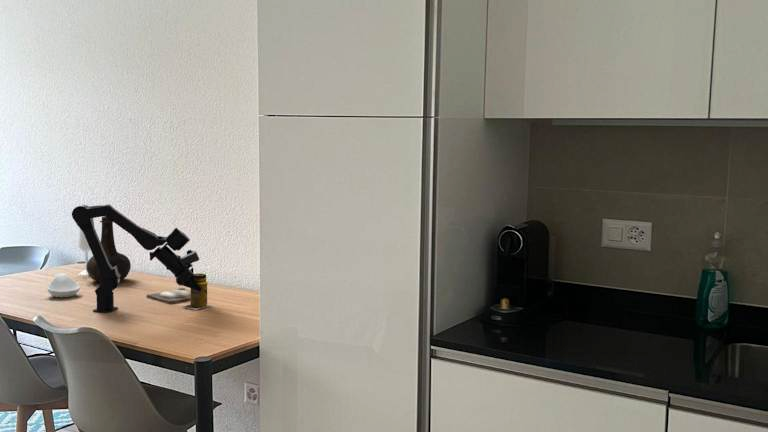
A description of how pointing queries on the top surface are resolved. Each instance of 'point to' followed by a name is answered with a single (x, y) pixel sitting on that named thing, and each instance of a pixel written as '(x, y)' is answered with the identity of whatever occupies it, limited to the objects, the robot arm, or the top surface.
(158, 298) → the brown flat square slab
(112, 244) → the glass bottle
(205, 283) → the condiment
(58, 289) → the spoon rest
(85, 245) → the champagne flute
